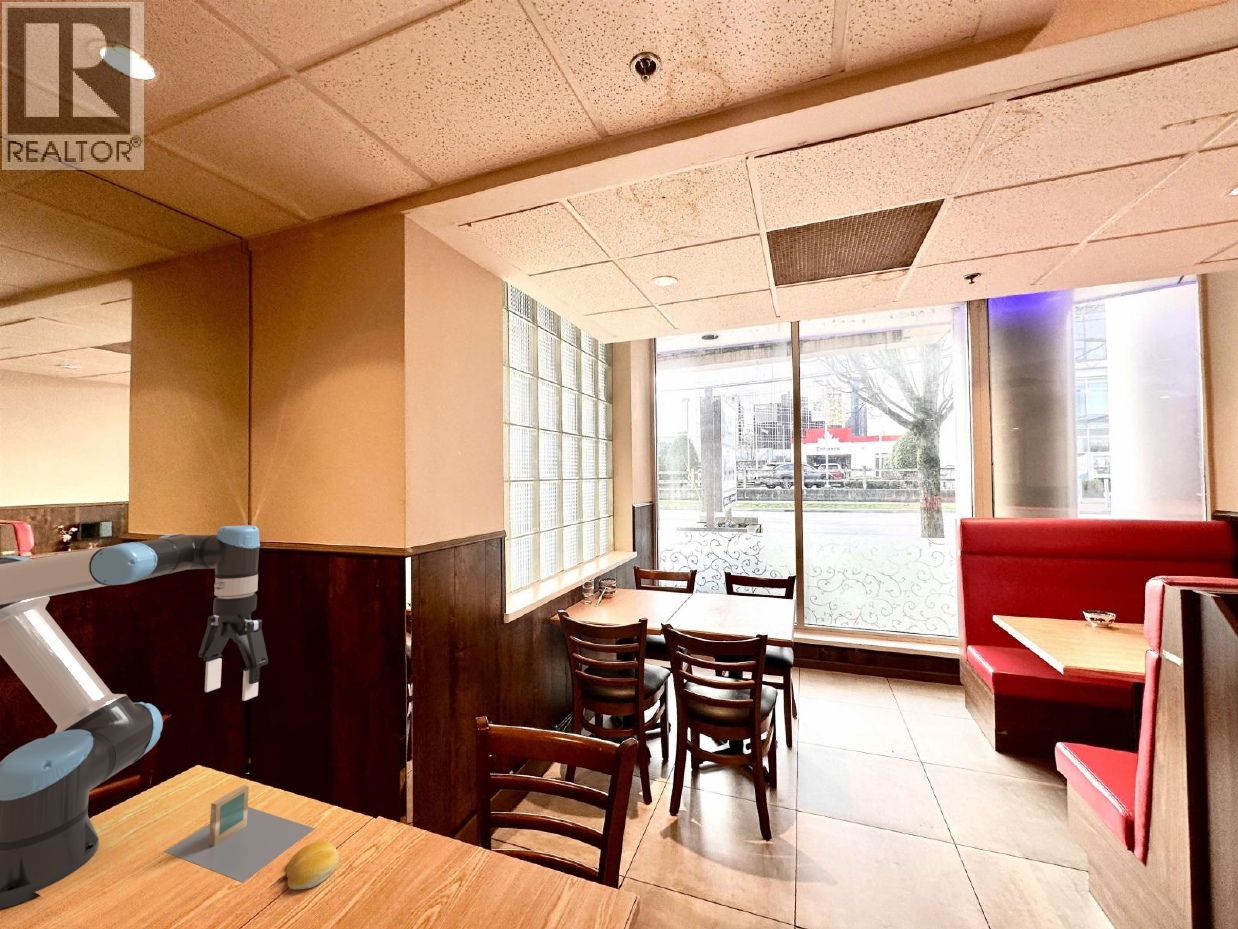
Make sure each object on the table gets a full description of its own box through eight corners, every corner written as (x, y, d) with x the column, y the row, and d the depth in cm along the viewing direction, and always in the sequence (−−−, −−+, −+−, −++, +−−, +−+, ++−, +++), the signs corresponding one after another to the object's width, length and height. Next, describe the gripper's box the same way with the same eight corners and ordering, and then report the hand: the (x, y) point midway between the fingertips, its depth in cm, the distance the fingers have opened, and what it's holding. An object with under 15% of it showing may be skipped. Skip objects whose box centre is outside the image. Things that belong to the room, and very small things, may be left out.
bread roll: (289, 901, 82) (290, 877, 82) (284, 869, 89) (285, 847, 89) (343, 876, 87) (343, 854, 88) (334, 847, 94) (334, 827, 94)
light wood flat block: (208, 844, 93) (211, 803, 93) (241, 823, 98) (243, 784, 99) (214, 846, 92) (216, 804, 92) (246, 825, 98) (248, 786, 98)
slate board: (163, 857, 91) (163, 851, 91) (241, 810, 104) (241, 804, 104) (242, 889, 84) (243, 882, 84) (314, 834, 97) (315, 828, 97)
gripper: (181, 593, 105) (175, 692, 104) (255, 603, 97) (250, 710, 96) (218, 587, 112) (213, 679, 111) (290, 595, 105) (286, 694, 104)
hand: (230, 693), depth 104 cm, fingers open, 11 cm apart
